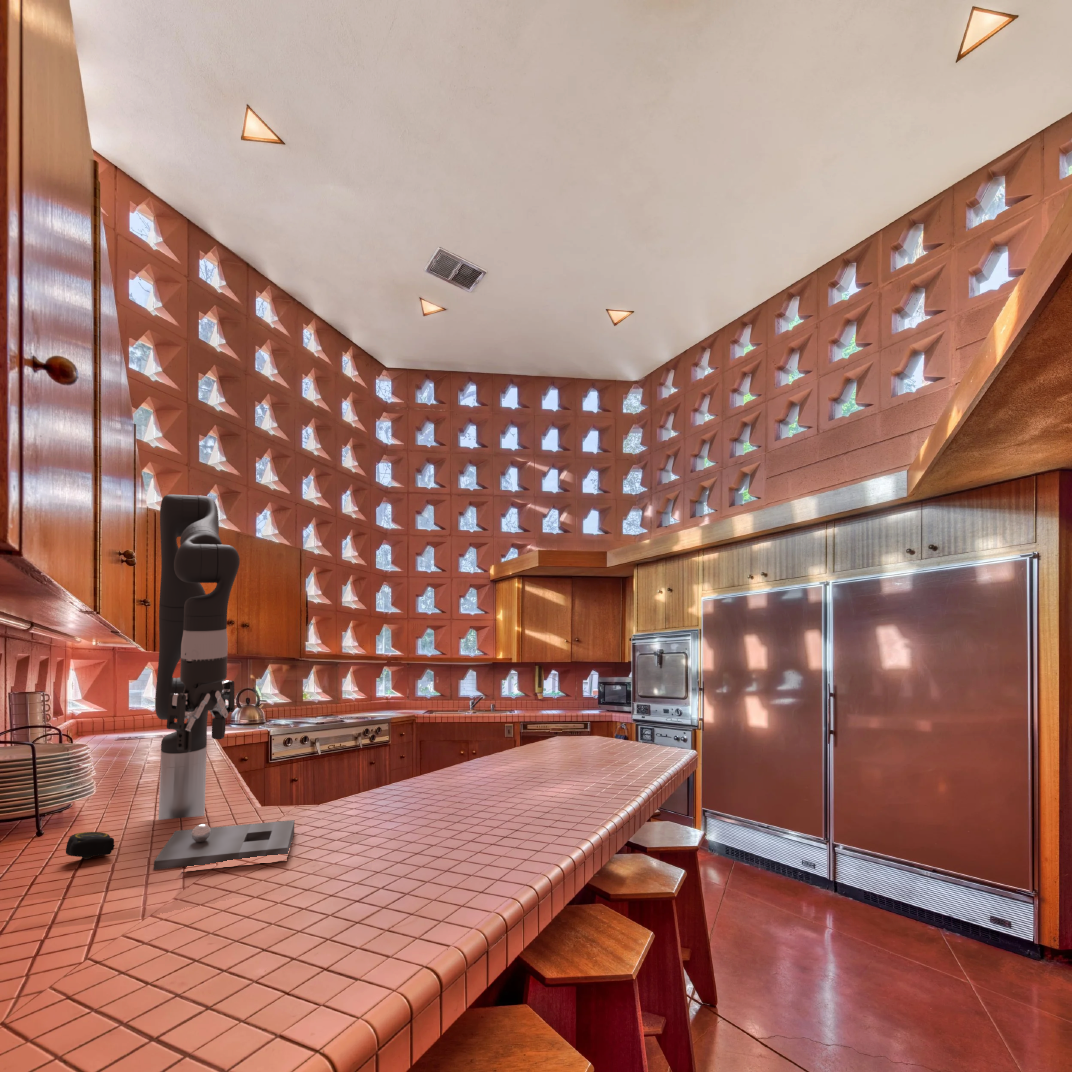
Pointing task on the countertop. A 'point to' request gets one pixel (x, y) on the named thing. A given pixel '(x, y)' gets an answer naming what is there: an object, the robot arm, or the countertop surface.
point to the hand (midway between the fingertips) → (201, 745)
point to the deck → (226, 844)
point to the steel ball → (201, 833)
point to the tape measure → (89, 844)
